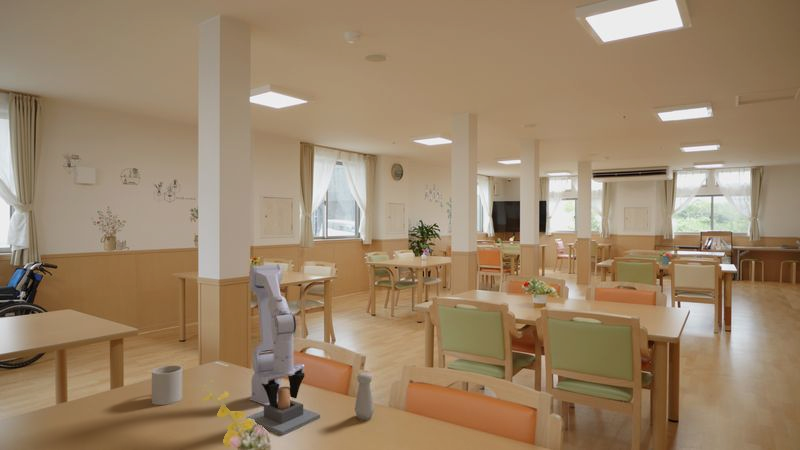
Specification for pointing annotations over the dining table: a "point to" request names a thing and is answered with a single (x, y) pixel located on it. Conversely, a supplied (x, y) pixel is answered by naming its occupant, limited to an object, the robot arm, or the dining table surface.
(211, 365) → the dining table surface
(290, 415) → the socket board
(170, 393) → the grey cup
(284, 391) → the peg
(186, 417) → the dining table surface
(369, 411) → the salt shaker
